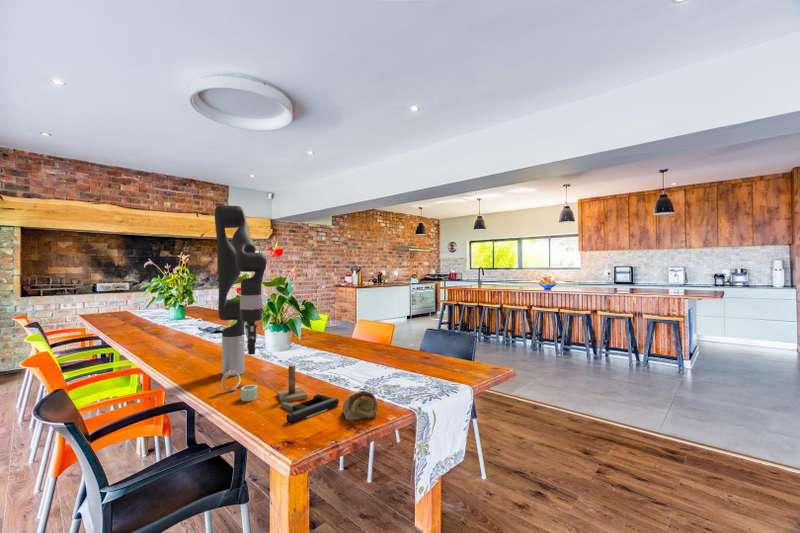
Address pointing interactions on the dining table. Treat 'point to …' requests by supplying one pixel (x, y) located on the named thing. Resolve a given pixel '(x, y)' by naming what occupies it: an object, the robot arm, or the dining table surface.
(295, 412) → the door handle
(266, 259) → the robot arm
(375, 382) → the dining table surface
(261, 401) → the dining table surface
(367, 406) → the pastry
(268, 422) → the dining table surface
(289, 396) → the ring stand
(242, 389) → the napkin ring
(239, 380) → the bracelet
